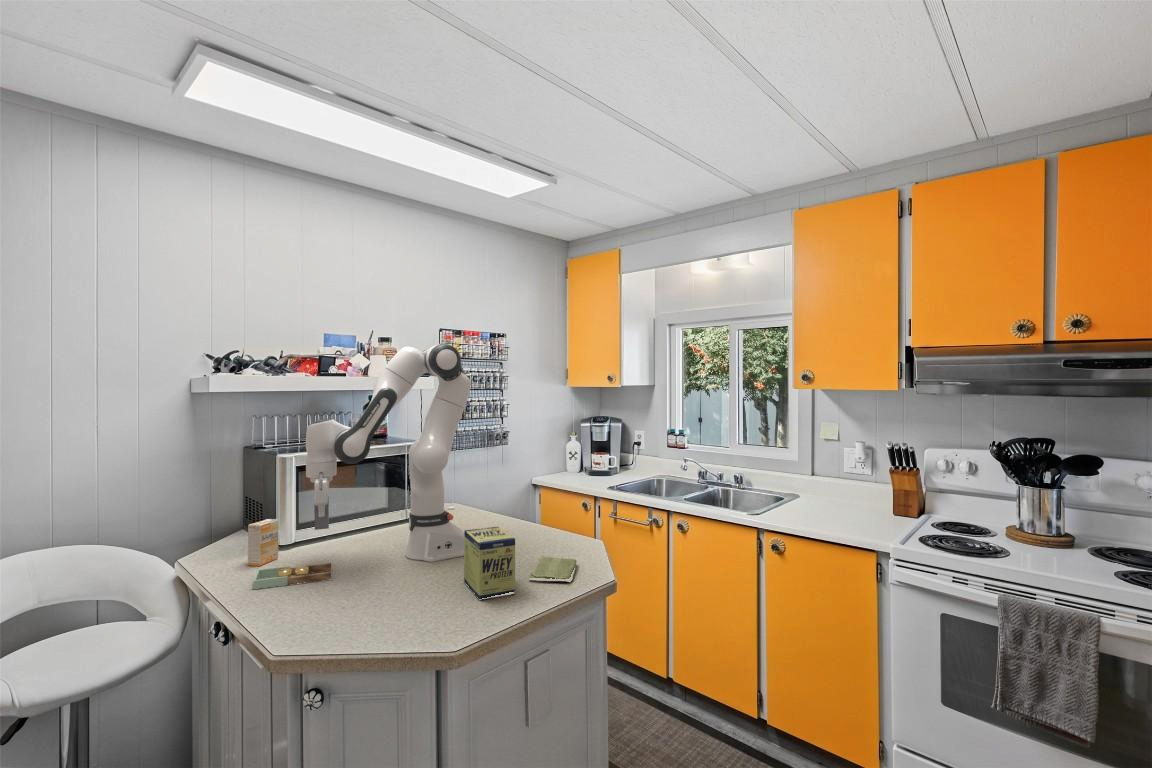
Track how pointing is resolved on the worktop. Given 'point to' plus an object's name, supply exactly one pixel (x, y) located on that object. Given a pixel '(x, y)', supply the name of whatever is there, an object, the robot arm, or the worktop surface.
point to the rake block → (322, 518)
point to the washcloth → (554, 568)
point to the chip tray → (270, 581)
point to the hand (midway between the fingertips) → (321, 514)
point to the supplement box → (263, 542)
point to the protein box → (489, 561)
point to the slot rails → (311, 576)
